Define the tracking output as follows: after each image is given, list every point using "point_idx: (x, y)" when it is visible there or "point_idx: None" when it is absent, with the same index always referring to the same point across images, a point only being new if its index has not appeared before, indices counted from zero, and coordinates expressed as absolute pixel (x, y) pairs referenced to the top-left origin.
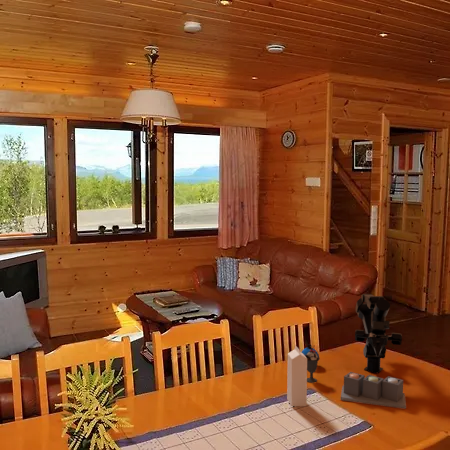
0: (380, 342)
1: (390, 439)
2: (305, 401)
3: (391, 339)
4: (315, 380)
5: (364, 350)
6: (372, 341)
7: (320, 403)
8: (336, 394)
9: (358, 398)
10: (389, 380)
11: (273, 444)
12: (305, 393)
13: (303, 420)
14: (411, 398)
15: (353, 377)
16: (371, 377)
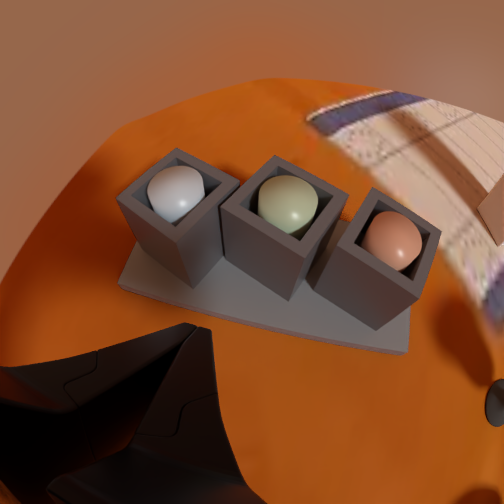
0: (40, 395)
1: (274, 87)
2: (485, 199)
3: None
4: (492, 399)
5: None
6: (249, 488)
7: (453, 221)
8: None
9: (344, 227)
10: (198, 177)
11: (460, 108)
12: (497, 183)
13: (456, 152)
14: (104, 269)
15: (398, 214)
16: (298, 207)
